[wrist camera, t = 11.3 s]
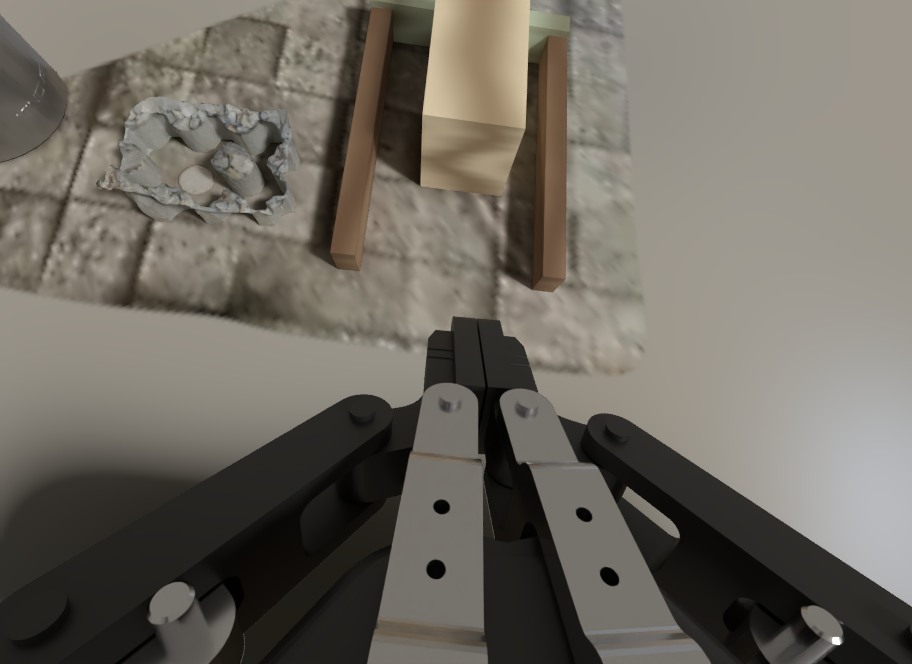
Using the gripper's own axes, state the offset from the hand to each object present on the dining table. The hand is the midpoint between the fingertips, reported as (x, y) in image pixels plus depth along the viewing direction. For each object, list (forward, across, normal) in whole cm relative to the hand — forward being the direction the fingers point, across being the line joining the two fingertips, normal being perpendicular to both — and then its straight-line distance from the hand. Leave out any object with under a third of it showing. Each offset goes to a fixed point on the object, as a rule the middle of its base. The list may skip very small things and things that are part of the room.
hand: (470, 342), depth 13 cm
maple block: (+24, 0, -5) cm, 25 cm away
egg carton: (+19, +16, 0) cm, 25 cm away
